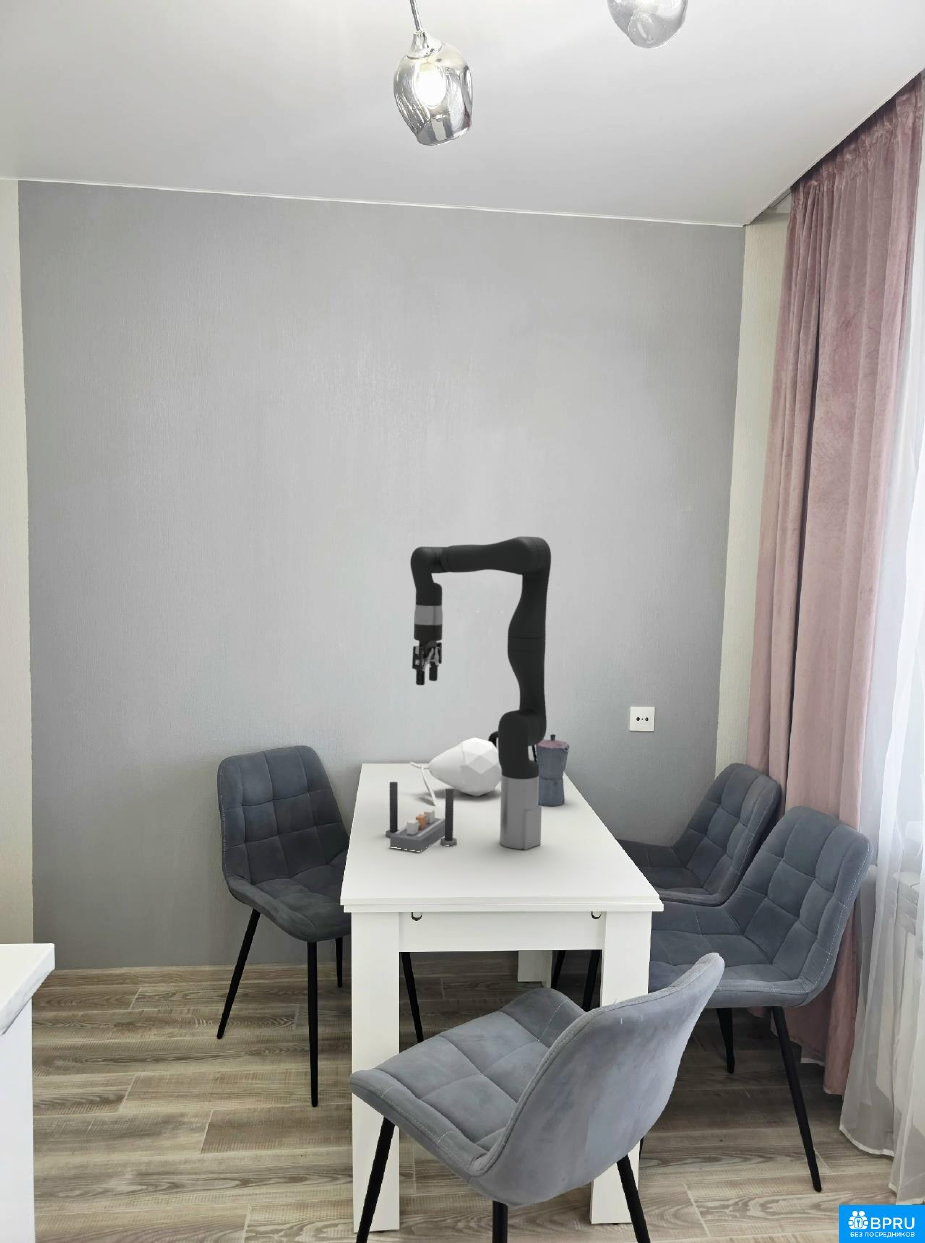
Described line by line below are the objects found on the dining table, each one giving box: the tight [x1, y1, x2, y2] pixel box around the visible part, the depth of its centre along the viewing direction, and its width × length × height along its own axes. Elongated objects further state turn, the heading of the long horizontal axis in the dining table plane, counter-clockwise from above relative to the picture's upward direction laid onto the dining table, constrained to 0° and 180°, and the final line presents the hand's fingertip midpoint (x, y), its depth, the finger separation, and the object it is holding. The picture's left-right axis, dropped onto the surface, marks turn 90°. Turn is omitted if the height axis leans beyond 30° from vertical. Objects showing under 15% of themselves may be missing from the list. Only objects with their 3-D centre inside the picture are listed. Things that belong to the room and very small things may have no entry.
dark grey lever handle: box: [385, 781, 400, 838], centre depth 227 cm, size 4×4×14 cm
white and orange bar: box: [406, 808, 436, 835], centre depth 224 cm, size 13×2×3 cm, turn 158°
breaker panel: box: [389, 817, 445, 853], centre depth 224 cm, size 18×8×4 cm, turn 158°
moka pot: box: [531, 733, 570, 807], centre depth 259 cm, size 10×15×20 cm, turn 41°
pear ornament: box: [409, 737, 501, 806], centre depth 264 cm, size 16×22×28 cm
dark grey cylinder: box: [440, 788, 458, 847], centre depth 221 cm, size 4×4×14 cm
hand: (426, 682), depth 241 cm, fingers open, 8 cm apart
